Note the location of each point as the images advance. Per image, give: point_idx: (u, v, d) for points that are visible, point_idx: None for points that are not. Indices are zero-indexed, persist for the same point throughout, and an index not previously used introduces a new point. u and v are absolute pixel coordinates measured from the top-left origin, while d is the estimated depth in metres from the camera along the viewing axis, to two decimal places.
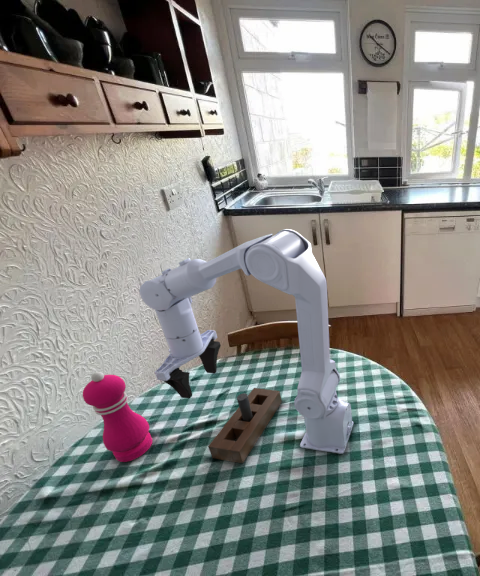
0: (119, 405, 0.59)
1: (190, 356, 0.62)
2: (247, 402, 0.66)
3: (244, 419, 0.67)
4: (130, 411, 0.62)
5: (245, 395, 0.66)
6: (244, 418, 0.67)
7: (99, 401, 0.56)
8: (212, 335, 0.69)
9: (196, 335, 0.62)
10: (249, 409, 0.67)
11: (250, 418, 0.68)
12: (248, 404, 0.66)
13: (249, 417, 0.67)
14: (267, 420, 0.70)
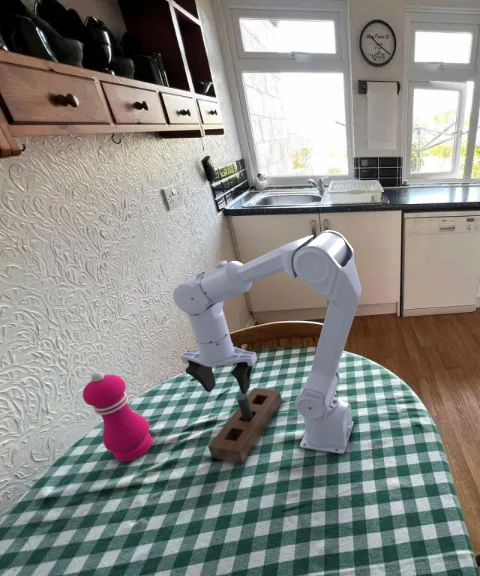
0: (119, 405, 0.59)
1: (201, 361, 0.60)
2: (247, 402, 0.66)
3: (244, 419, 0.67)
4: (130, 411, 0.62)
5: (245, 395, 0.66)
6: (244, 418, 0.67)
7: (99, 400, 0.56)
8: (244, 360, 0.61)
9: (207, 348, 0.58)
10: (249, 409, 0.67)
11: (250, 418, 0.68)
12: (248, 404, 0.66)
13: (249, 417, 0.67)
14: (267, 420, 0.70)
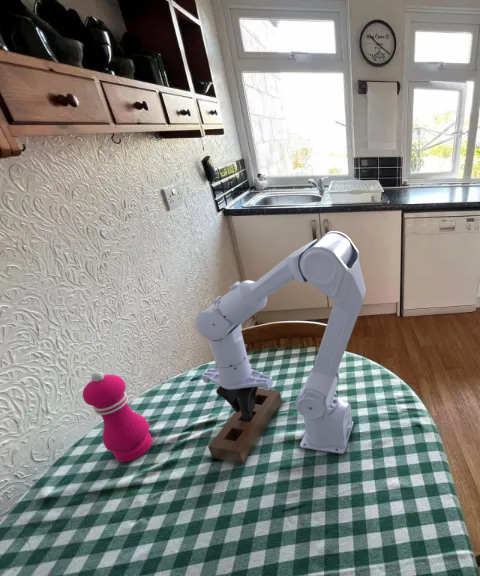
0: (119, 405, 0.59)
1: (220, 382, 0.61)
2: None
3: (244, 419, 0.67)
4: (130, 411, 0.62)
5: None
6: (244, 418, 0.67)
7: (99, 400, 0.56)
8: (260, 384, 0.61)
9: (225, 371, 0.59)
10: None
11: (250, 418, 0.68)
12: None
13: (249, 417, 0.67)
14: (267, 420, 0.70)
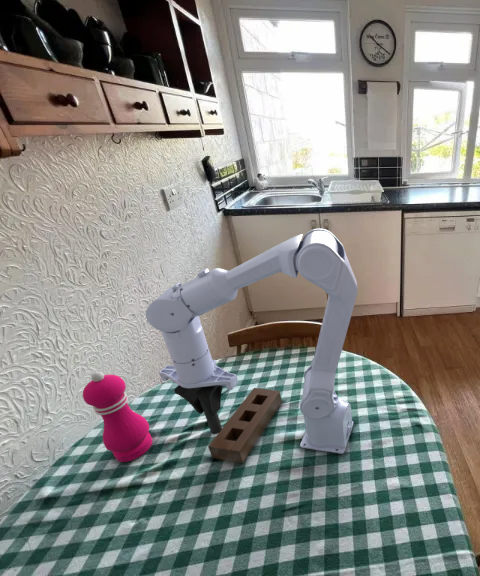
0: (119, 405, 0.59)
1: (177, 380, 0.55)
2: None
3: (208, 421, 0.60)
4: (130, 411, 0.62)
5: None
6: (208, 420, 0.60)
7: (99, 400, 0.56)
8: (222, 383, 0.55)
9: (181, 368, 0.53)
10: None
11: (215, 420, 0.61)
12: None
13: (214, 419, 0.61)
14: (267, 420, 0.70)
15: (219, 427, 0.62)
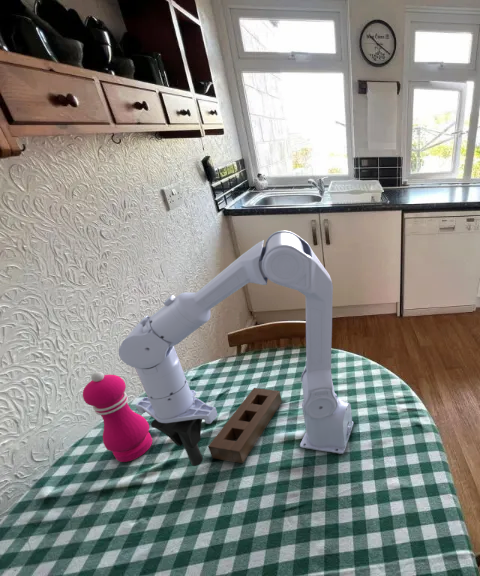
0: (119, 405, 0.59)
1: (154, 414, 0.53)
2: None
3: (188, 453, 0.59)
4: (130, 411, 0.62)
5: None
6: (188, 452, 0.58)
7: (99, 400, 0.56)
8: (200, 417, 0.53)
9: (157, 403, 0.51)
10: None
11: (195, 452, 0.59)
12: None
13: (194, 451, 0.59)
14: (267, 420, 0.70)
15: (199, 459, 0.60)
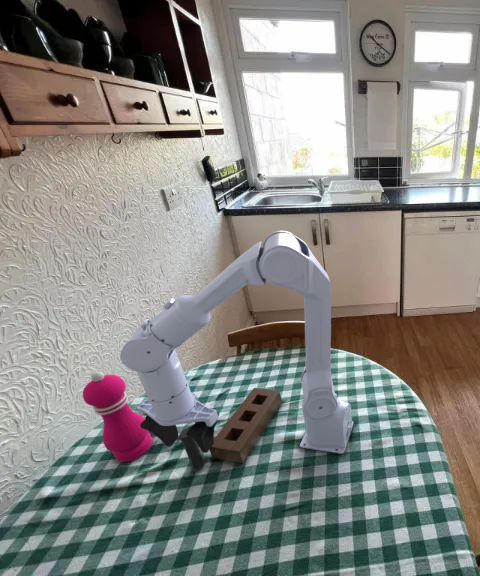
0: (119, 405, 0.59)
1: (155, 417, 0.53)
2: (192, 439, 0.58)
3: (189, 457, 0.59)
4: (130, 411, 0.62)
5: None
6: (189, 456, 0.59)
7: (99, 401, 0.56)
8: (201, 420, 0.53)
9: (158, 406, 0.51)
10: (195, 446, 0.59)
11: (197, 456, 0.59)
12: (193, 440, 0.58)
13: (195, 455, 0.59)
14: (267, 420, 0.70)
15: (201, 463, 0.61)
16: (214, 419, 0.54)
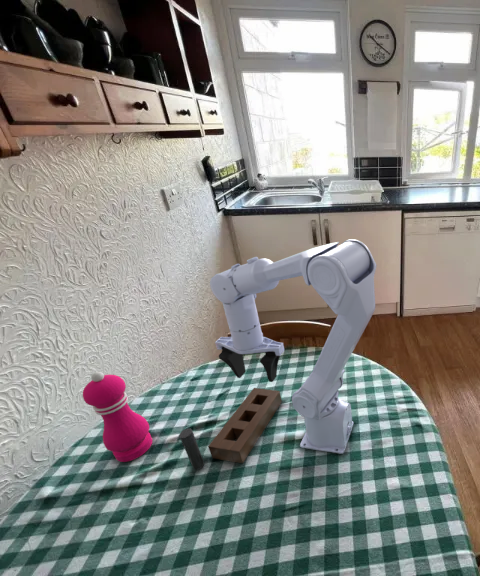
0: (119, 405, 0.59)
1: (233, 348, 0.63)
2: (192, 439, 0.58)
3: (189, 457, 0.59)
4: (130, 411, 0.62)
5: (189, 431, 0.58)
6: (189, 456, 0.59)
7: (99, 400, 0.56)
8: (272, 349, 0.63)
9: (238, 336, 0.61)
10: (195, 446, 0.59)
11: (197, 456, 0.59)
12: (193, 440, 0.58)
13: (195, 455, 0.59)
14: (267, 420, 0.70)
15: (201, 463, 0.61)
16: (281, 350, 0.64)
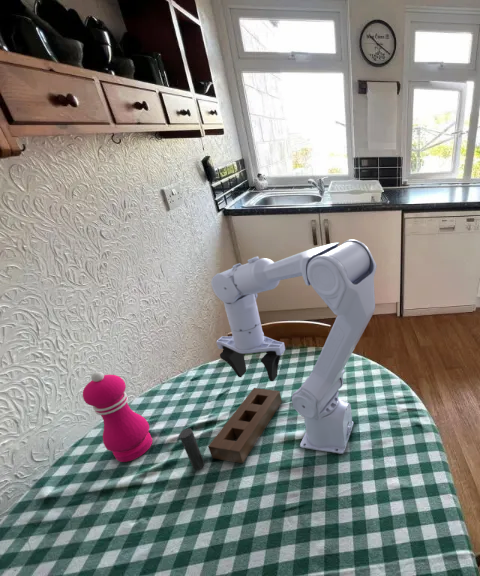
0: (119, 405, 0.59)
1: (234, 347, 0.64)
2: (192, 439, 0.58)
3: (189, 457, 0.59)
4: (130, 411, 0.62)
5: (189, 431, 0.58)
6: (189, 456, 0.59)
7: (99, 401, 0.56)
8: (273, 349, 0.63)
9: (239, 335, 0.61)
10: (195, 446, 0.59)
11: (197, 456, 0.59)
12: (193, 440, 0.58)
13: (195, 455, 0.59)
14: (267, 420, 0.70)
15: (201, 463, 0.61)
16: (282, 350, 0.65)
